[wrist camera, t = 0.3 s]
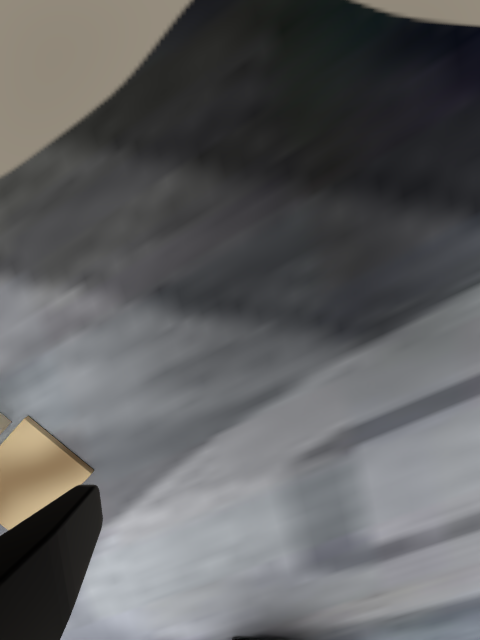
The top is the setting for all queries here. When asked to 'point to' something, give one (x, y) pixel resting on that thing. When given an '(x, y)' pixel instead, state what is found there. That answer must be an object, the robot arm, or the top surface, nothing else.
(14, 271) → the top surface
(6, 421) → the ivory domino
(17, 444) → the birch pad
